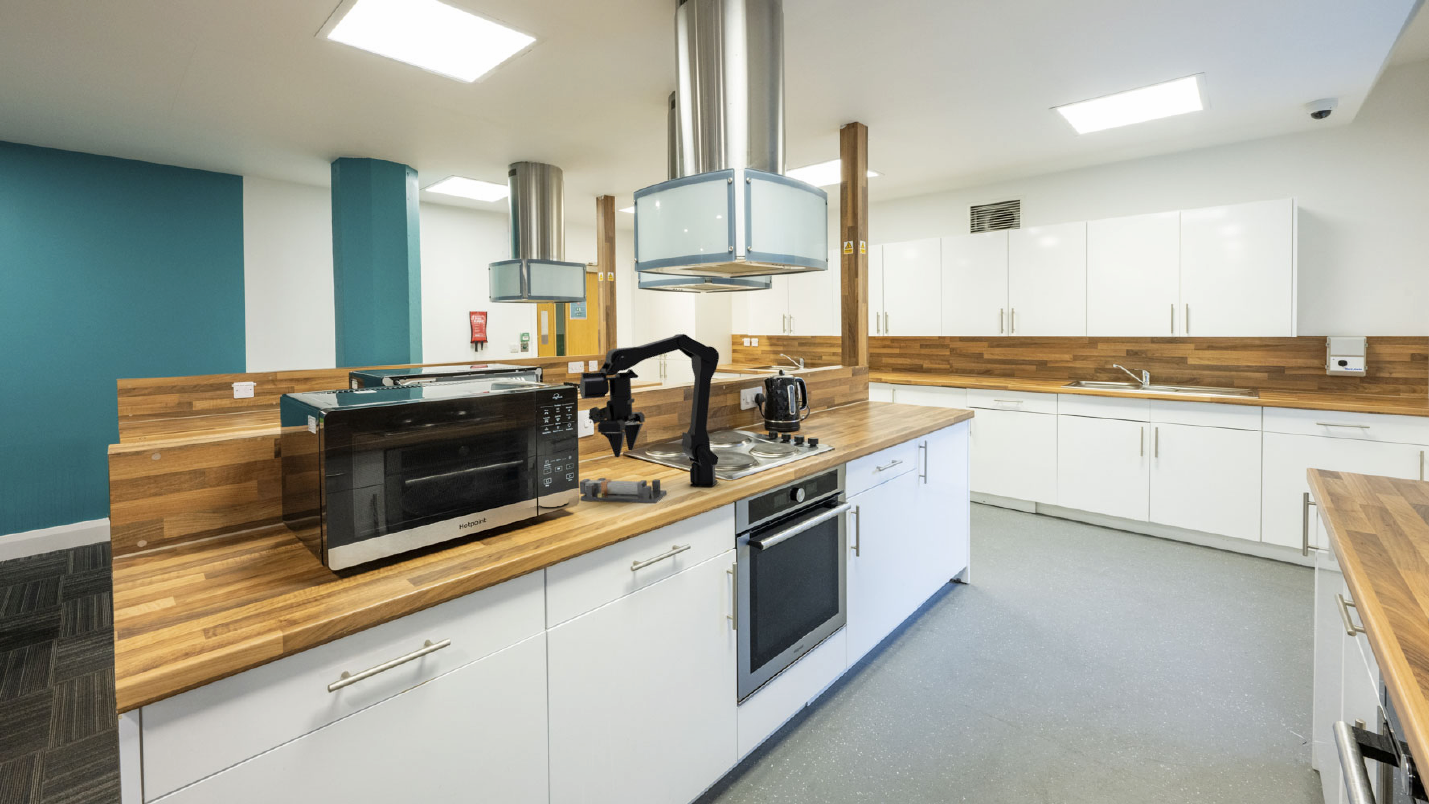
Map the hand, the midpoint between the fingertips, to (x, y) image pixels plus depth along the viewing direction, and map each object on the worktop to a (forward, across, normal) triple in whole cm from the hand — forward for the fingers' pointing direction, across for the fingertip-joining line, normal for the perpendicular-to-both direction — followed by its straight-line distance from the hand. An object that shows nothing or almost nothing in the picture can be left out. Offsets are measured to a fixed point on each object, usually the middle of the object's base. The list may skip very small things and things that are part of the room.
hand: (624, 453), depth 161 cm
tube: (+11, +1, -3) cm, 11 cm away
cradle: (+12, +1, 0) cm, 12 cm away
